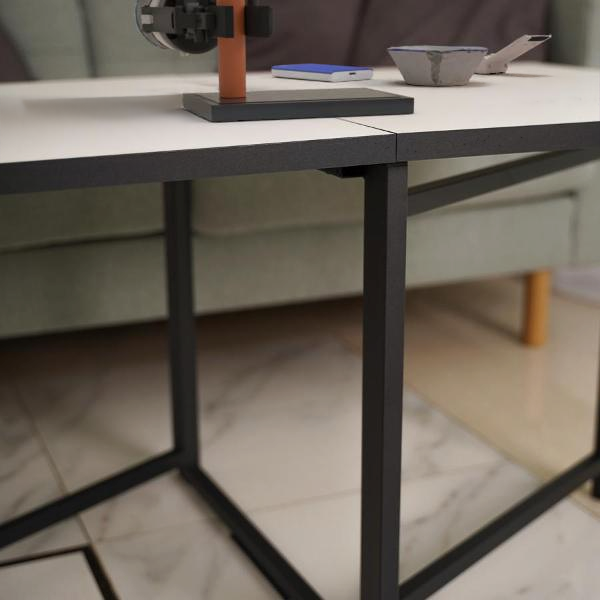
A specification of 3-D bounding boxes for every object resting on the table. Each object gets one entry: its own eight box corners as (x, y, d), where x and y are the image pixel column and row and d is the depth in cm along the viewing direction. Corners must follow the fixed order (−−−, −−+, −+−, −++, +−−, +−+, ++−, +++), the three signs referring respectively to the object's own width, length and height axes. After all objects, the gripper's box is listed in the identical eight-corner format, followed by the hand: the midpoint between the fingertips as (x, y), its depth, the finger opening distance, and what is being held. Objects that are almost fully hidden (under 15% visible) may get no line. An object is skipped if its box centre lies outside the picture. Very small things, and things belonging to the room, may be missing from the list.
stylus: (223, 98, 86) (219, -37, 82) (216, 96, 88) (212, -36, 84) (249, 97, 87) (247, -37, 83) (242, 95, 89) (239, -36, 85)
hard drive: (271, 65, 131) (331, 70, 122) (312, 63, 136) (373, 67, 127) (271, 77, 131) (331, 82, 122) (312, 73, 136) (373, 79, 128)
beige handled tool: (528, 34, 127) (403, 29, 146) (524, 78, 129) (401, 67, 148) (555, 34, 131) (430, 29, 149) (551, 76, 133) (428, 66, 151)
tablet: (211, 122, 81) (211, 104, 81) (183, 108, 92) (182, 92, 92) (414, 113, 88) (414, 97, 87) (364, 101, 98) (365, 86, 98)
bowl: (504, 82, 121) (507, 45, 119) (451, 89, 112) (453, 49, 110) (423, 77, 129) (425, 42, 127) (367, 84, 120) (368, 46, 118)
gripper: (256, 51, 105) (329, 63, 84) (120, 54, 100) (161, 67, 79) (255, -18, 103) (330, -23, 82) (115, -19, 98) (157, -24, 77)
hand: (247, 21), depth 80 cm, fingers closed on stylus, 3 cm apart
